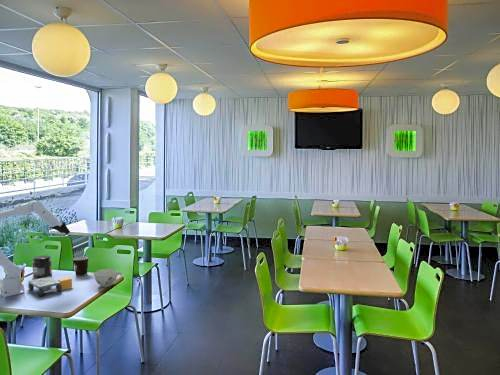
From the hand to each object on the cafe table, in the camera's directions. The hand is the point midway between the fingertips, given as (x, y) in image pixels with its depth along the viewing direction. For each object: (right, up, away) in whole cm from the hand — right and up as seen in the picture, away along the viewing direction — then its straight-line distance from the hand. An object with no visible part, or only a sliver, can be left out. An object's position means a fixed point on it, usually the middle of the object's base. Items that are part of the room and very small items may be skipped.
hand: (66, 232), depth 245 cm
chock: (+3, -30, -8) cm, 31 cm away
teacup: (+26, -29, -4) cm, 39 cm away
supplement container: (-21, -28, +15) cm, 38 cm away
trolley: (-6, -30, -14) cm, 34 cm away
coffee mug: (+2, -28, +17) cm, 33 cm away
